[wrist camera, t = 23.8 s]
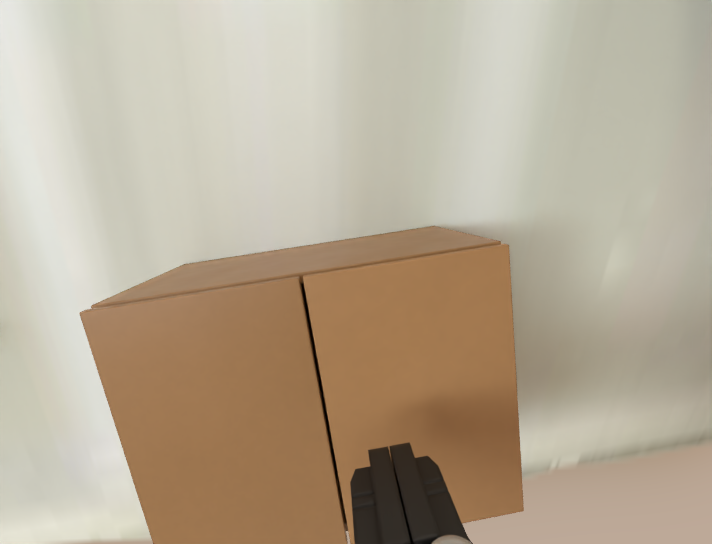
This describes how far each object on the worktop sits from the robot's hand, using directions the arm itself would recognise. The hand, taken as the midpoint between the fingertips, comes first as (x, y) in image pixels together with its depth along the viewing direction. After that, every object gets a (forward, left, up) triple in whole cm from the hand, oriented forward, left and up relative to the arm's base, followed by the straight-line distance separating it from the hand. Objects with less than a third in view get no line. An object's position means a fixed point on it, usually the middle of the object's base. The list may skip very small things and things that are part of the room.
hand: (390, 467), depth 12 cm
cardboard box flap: (-2, 0, -3) cm, 4 cm away
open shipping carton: (+2, 0, -13) cm, 13 cm away
